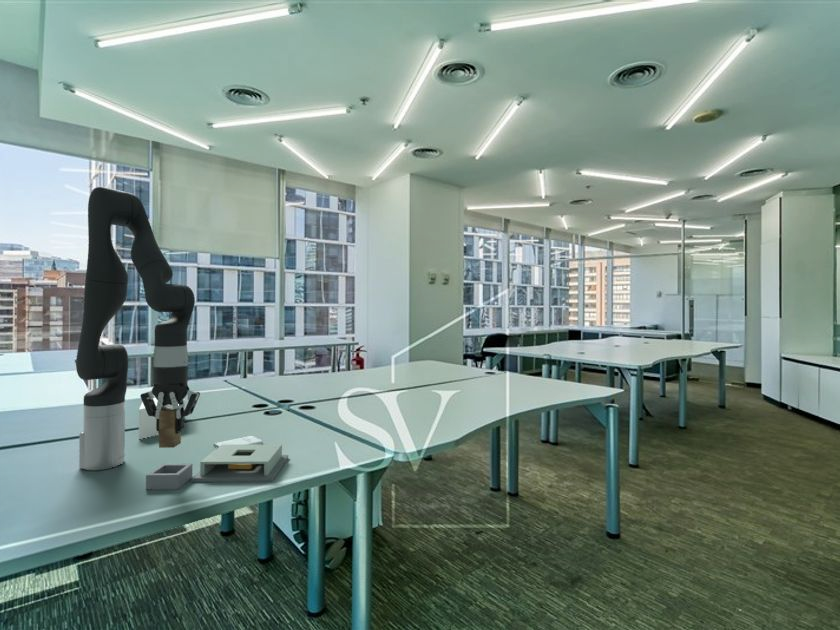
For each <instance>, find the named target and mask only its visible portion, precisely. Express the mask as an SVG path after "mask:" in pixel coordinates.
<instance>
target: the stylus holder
mask: <svg viewBox="0 0 840 630" xmlns="http://www.w3.org/2000/svg"><path fill="white" fill-rule="evenodd" d="M192 477H193V463H162V464H160V465H158V466H157V467H156V468H155V469H153V470H151V471H150V472H149V473H147V474H146V475H145V490H146V489H149V490H150V489H152V490H179V489H180V488H182V487H183V486H184V485H185V484H186V483H188V482H189V481H190V479H191V480H192Z"/></svg>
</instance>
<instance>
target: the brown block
mask: <svg viewBox="0 0 840 630" xmlns="http://www.w3.org/2000/svg"><path fill="white" fill-rule="evenodd" d="M175 419H177V418H176V415H175V410H173V408H166V409H163V410H162V411H159V435H158V448H160V449H161V448H164V449H168V448H169V449H170V448H172V449H173V448H175V447H177V446H179V445H181V444H182V443H181V442H182V441H181V440H182V439H181V438H182V432H180V433H179V434H176V433H175Z"/></svg>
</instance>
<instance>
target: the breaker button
mask: <svg viewBox="0 0 840 630" xmlns="http://www.w3.org/2000/svg"><path fill="white" fill-rule="evenodd" d="M254 465H255V464H228V469H252V468H253V466H254Z"/></svg>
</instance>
